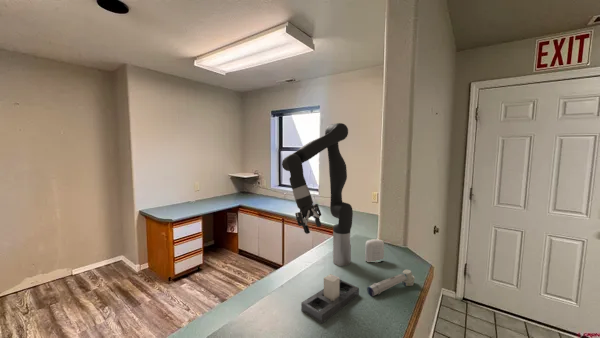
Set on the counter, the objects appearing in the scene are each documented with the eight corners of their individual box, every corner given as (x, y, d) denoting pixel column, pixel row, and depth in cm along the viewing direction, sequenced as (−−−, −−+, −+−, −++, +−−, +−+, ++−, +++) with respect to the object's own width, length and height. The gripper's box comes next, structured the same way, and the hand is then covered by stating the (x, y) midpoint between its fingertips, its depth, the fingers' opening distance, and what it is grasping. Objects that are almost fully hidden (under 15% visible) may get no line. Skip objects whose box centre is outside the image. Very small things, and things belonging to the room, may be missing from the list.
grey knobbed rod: (365, 283, 100) (406, 264, 110) (366, 298, 101) (408, 278, 111) (373, 290, 95) (416, 269, 105) (375, 305, 96) (417, 283, 106)
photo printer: (381, 259, 133) (381, 237, 132) (384, 262, 128) (385, 240, 128) (363, 260, 131) (364, 238, 131) (367, 263, 127) (367, 241, 126)
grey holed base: (339, 285, 105) (339, 279, 105) (358, 295, 98) (358, 288, 98) (301, 310, 88) (301, 302, 88) (321, 323, 81) (321, 315, 81)
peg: (330, 297, 96) (330, 273, 96) (339, 302, 93) (339, 277, 93) (323, 302, 93) (323, 277, 93) (332, 307, 90) (332, 282, 90)
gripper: (297, 199, 101) (310, 235, 100) (317, 190, 111) (328, 223, 110) (286, 202, 106) (298, 236, 105) (306, 193, 116) (317, 225, 115)
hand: (313, 229), depth 108 cm, fingers open, 8 cm apart
